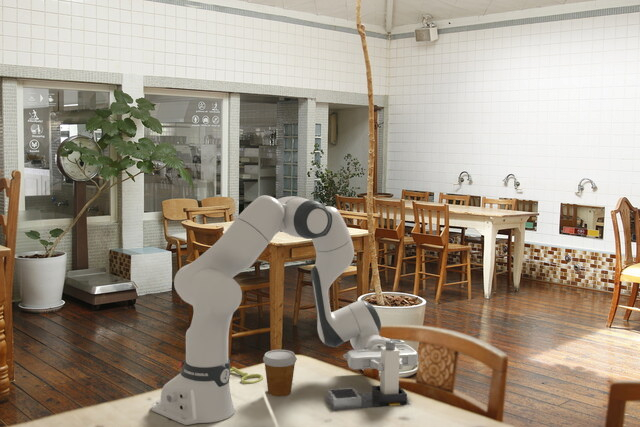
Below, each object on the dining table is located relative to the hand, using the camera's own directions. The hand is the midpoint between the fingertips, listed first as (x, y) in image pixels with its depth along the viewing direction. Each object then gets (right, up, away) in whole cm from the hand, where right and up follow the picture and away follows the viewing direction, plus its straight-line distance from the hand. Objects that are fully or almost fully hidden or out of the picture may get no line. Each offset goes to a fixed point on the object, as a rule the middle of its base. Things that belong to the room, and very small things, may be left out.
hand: (390, 367), depth 191 cm
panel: (-7, -10, +1) cm, 12 cm away
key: (-42, -8, +20) cm, 48 cm away
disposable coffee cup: (-31, -9, +6) cm, 33 cm away
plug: (0, -8, +2) cm, 8 cm away
